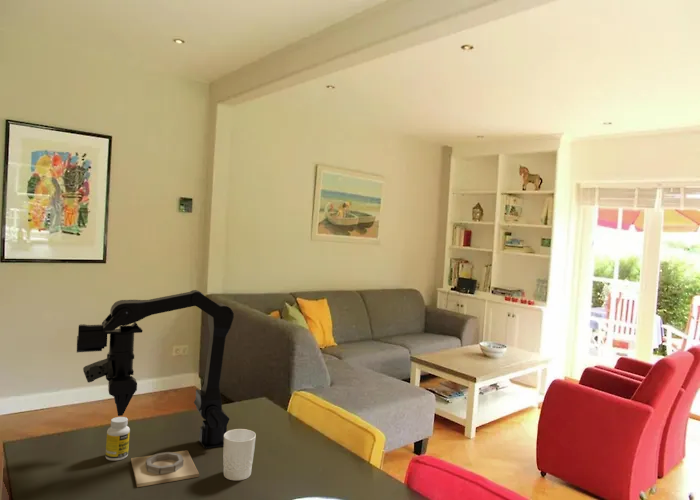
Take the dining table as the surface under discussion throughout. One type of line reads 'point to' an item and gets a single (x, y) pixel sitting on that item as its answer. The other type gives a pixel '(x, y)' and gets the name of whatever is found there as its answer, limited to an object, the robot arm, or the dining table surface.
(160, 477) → the board
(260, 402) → the dining table surface
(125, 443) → the supplement bottle
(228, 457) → the white cup
